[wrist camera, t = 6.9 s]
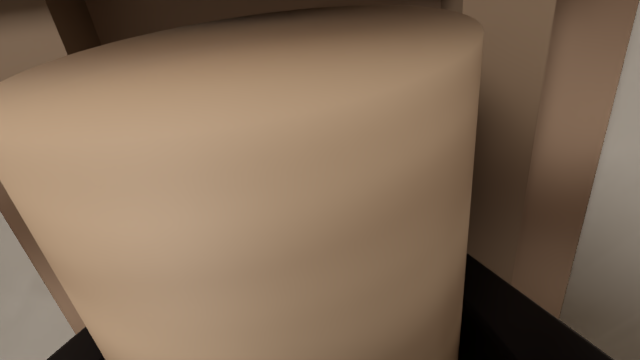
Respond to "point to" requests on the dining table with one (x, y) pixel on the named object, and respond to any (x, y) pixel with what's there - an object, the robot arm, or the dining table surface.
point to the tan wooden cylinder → (257, 183)
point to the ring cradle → (492, 121)
